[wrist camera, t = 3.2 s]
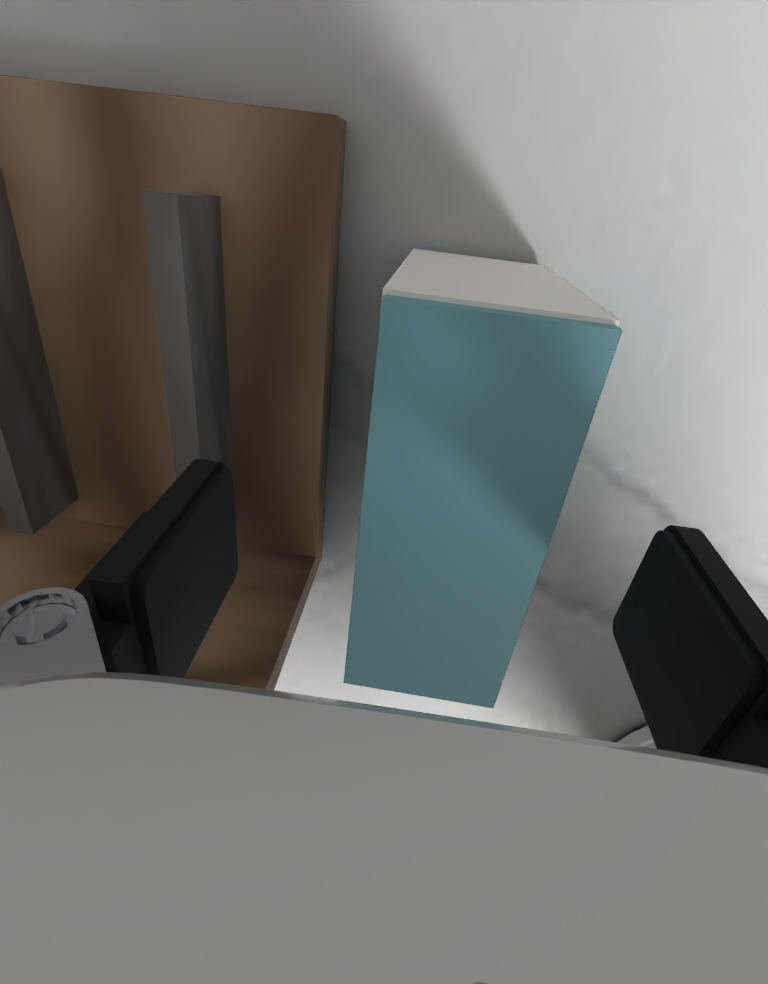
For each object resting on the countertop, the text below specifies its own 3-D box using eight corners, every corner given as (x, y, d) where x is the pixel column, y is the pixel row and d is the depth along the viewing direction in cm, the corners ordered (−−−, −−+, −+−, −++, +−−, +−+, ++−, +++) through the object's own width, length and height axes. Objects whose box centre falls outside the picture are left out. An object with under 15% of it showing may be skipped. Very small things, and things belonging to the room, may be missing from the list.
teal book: (542, 264, 18) (626, 325, 9) (479, 522, 24) (495, 708, 15) (414, 247, 18) (380, 292, 10) (381, 507, 24) (341, 682, 15)
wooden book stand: (346, 121, 16) (-106, -205, 3) (321, 558, 26) (180, 948, 12) (-120, 65, 17) (-2116, -396, 4) (19, 510, 26) (-424, 830, 13)
